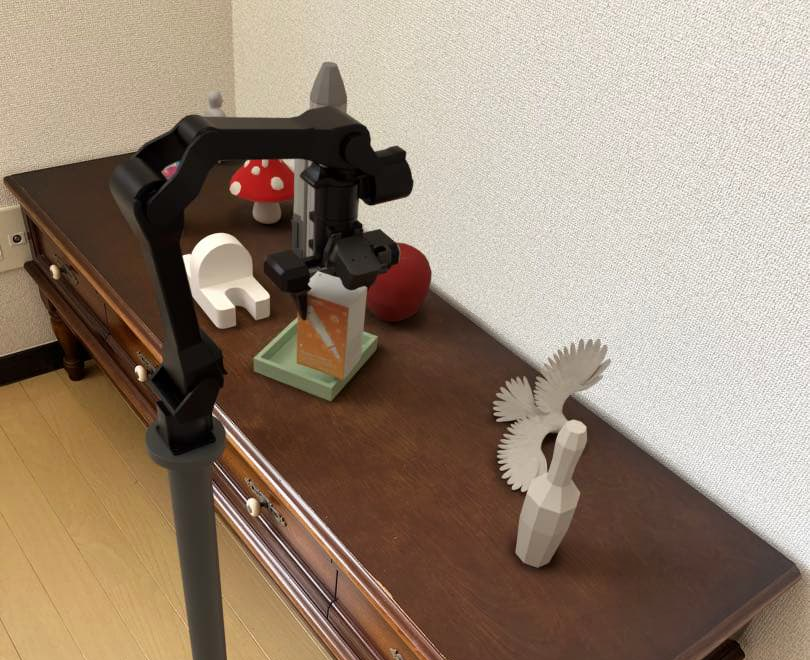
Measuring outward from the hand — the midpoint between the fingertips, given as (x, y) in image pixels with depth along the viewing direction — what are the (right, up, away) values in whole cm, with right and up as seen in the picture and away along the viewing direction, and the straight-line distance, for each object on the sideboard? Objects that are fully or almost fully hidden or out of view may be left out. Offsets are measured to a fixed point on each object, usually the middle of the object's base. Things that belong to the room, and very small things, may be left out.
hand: (331, 311), depth 118 cm
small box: (-1, -7, +6) cm, 9 cm away
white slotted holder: (-21, +7, +23) cm, 32 cm away
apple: (+8, +4, +24) cm, 26 cm away
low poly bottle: (+27, -34, -12) cm, 45 cm away
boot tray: (-3, -5, +13) cm, 14 cm away
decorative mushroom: (-17, +25, +43) cm, 53 cm away
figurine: (-30, +43, +59) cm, 79 cm away
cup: (-35, +22, +37) cm, 55 cm away
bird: (+28, -20, +3) cm, 34 cm away
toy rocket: (-5, +15, +34) cm, 37 cm away
